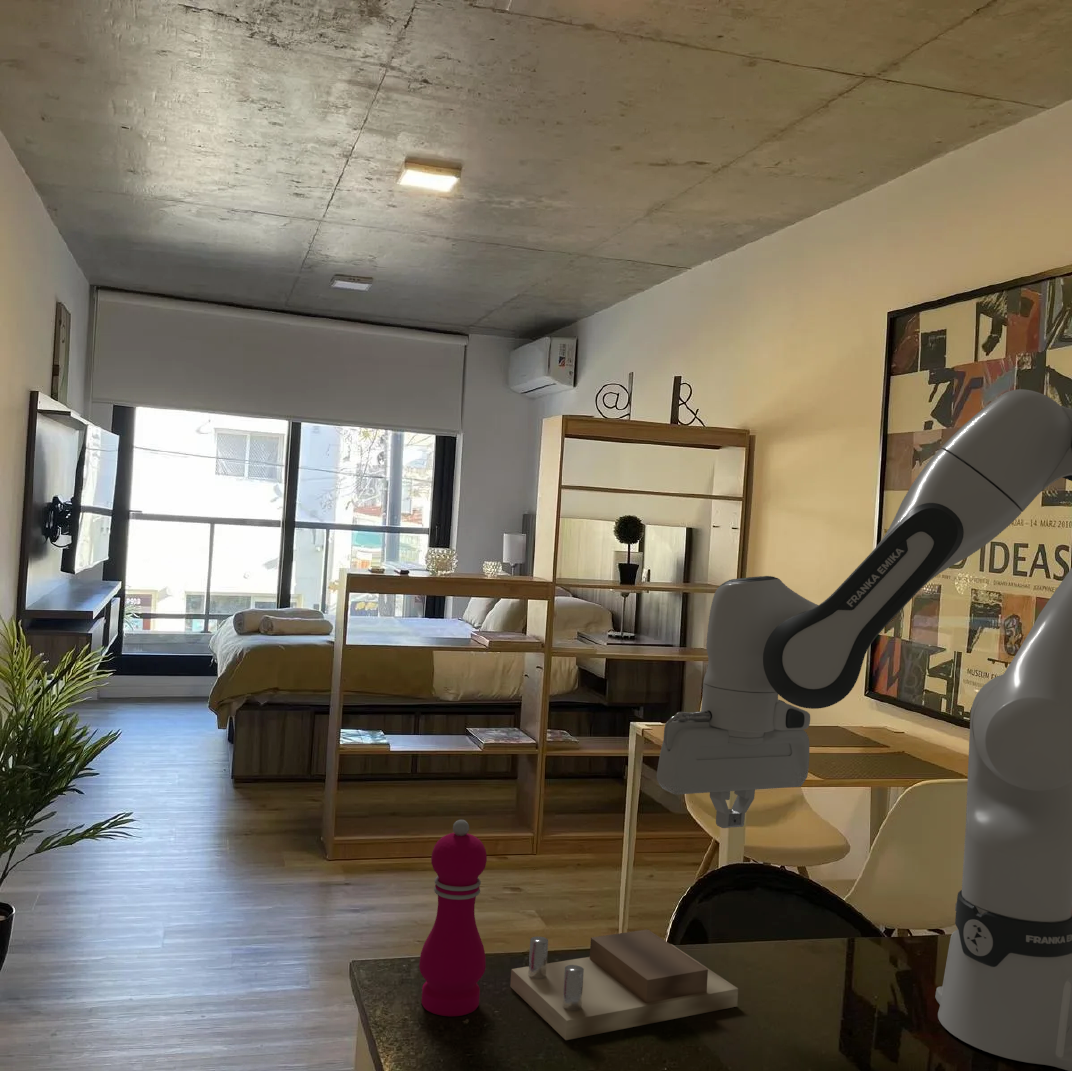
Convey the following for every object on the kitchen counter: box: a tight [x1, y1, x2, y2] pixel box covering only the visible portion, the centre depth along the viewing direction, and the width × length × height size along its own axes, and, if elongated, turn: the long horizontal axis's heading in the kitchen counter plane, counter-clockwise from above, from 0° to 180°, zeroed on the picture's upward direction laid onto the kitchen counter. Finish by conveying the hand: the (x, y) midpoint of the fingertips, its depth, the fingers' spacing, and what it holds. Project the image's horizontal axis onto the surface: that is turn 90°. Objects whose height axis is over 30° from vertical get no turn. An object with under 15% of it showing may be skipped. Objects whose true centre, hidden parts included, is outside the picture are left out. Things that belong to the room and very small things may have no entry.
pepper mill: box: [418, 819, 488, 1017], centre depth 111 cm, size 7×7×20 cm
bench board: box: [509, 936, 739, 1041], centre depth 115 cm, size 22×13×6 cm, turn 117°
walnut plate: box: [589, 929, 709, 1003], centre depth 117 cm, size 8×12×2 cm, turn 27°
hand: (729, 826), depth 122 cm, fingers closed
